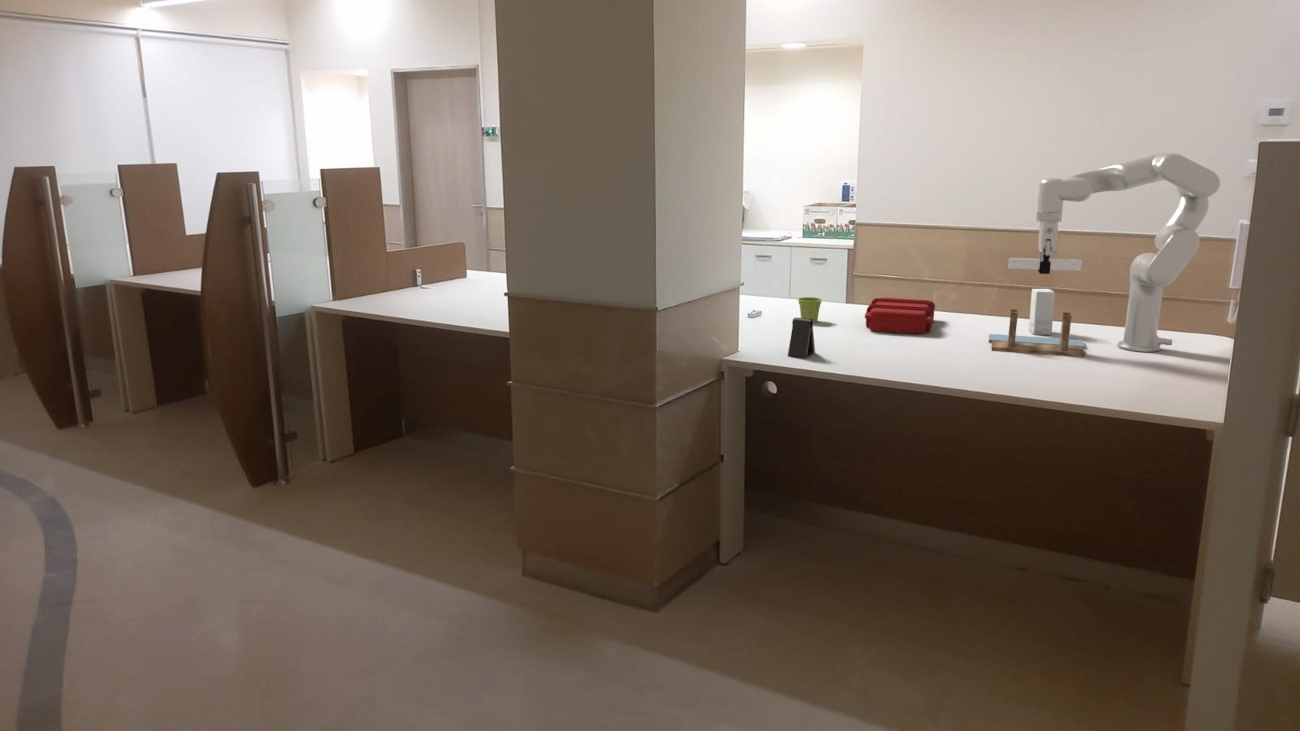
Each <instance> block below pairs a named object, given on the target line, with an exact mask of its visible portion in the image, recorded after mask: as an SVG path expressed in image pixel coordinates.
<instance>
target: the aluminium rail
mask: <svg viewBox="0 0 1300 731" xmlns="http://www.w3.org/2000/svg"><path fill="white" fill-rule="evenodd" d="M1040 262H1041V259H1040V257H1039V258H1033V257H1032V258H1029V257H1008V266H1007V267H1008V269H1010V270H1011V269H1012V270H1013V269H1014V270H1015V269H1016V270H1038V269H1040ZM1050 262H1051V266H1050V271H1051V270H1052V271H1076V272H1077V271H1079V272H1081V271H1082V264H1083V260H1082V259H1076V258H1075V259H1074V258H1073V259H1067V258H1051V261H1050Z"/></svg>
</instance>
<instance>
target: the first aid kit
mask: <svg viewBox="0 0 1300 731" xmlns="http://www.w3.org/2000/svg"><path fill="white" fill-rule="evenodd" d="M935 309H936V305H935V303H934V301H931V300H928V299H918V298H917V299H916V298H898V297H897V298H896V297H878V298H873V299H872V301H871V303H870V305H868V307H867V308H866V312H865V314H864V319H865V327H866V328H867V329H869V330H870V331H873V332H883V333H884V332H886V333H898V334H899V333H900V334H901V333H903V334H915V335H916V334H917V335H919V334H924V333H930V331H931V329H932V324H933V322H934V319H935Z"/></svg>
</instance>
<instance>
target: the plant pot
mask: <svg viewBox="0 0 1300 731" xmlns="http://www.w3.org/2000/svg"><path fill="white" fill-rule="evenodd" d="M797 301H798V305H799V312H800V318H804V319H812V320H813V323H816V322H817V321H818V319H819V312H820V308H821V305H822V301H823V298H820V297H815V296H814V297H813V296H812V297H810V296H805V297H803V296H802V297H798V298H797Z"/></svg>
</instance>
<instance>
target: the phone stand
mask: <svg viewBox="0 0 1300 731" xmlns="http://www.w3.org/2000/svg"><path fill="white" fill-rule="evenodd" d="M791 324H792V327H791V334H790V341H789V347H788V351H787V352H788V353H787V357H791V358H798V359H807V358H809V357H811V356H812V355H814V354H816V348H815V347H816V346H815V337H814V322H813V320H812V319H804V318H801V317H793V319H792V322H791Z"/></svg>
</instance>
